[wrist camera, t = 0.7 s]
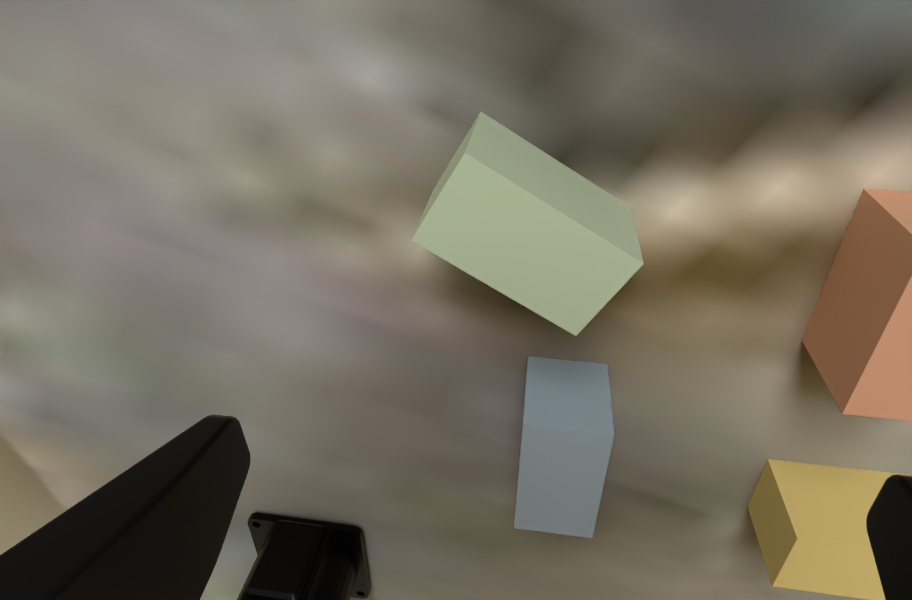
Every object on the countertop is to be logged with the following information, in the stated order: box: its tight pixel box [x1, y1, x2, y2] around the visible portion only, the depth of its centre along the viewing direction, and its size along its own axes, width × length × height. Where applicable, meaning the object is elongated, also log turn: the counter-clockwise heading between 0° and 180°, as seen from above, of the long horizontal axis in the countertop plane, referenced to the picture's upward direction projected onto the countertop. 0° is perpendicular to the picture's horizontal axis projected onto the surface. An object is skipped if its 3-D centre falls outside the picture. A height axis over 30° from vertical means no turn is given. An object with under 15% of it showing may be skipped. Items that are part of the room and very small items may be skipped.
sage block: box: [411, 112, 644, 336], centre depth 19 cm, size 6×3×4 cm, turn 60°
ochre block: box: [748, 459, 912, 600], centre depth 24 cm, size 6×3×4 cm, turn 90°
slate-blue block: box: [514, 356, 614, 538], centre depth 24 cm, size 6×3×4 cm, turn 0°
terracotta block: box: [802, 189, 912, 421], centre depth 18 cm, size 6×3×4 cm, turn 0°
